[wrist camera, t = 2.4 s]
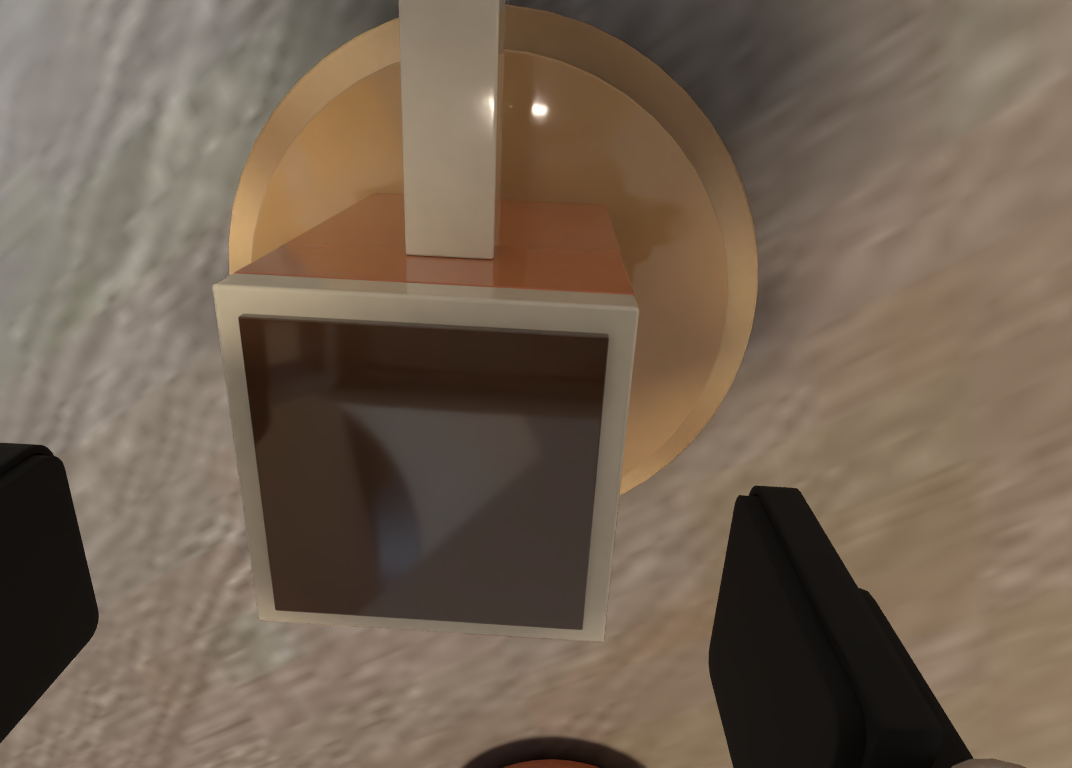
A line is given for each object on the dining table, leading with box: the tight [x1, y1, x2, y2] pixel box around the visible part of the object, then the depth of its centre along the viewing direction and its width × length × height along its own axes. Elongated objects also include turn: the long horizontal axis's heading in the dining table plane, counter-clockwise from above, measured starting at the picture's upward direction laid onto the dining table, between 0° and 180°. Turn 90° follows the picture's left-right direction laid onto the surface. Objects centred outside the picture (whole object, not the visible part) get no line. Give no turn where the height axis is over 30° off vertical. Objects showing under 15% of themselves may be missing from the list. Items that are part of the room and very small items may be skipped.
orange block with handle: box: [213, 0, 729, 642], centre depth 15 cm, size 16×13×10 cm
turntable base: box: [229, 5, 758, 495], centre depth 21 cm, size 15×15×1 cm
